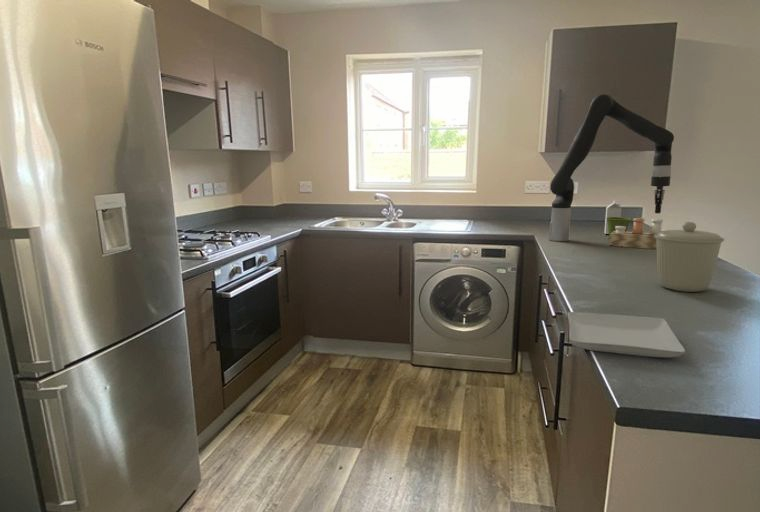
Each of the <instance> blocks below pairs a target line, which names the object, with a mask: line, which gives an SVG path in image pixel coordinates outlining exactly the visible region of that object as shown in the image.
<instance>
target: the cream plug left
mask: <svg viewBox="0 0 760 512" xmlns="http://www.w3.org/2000/svg"><path fill="white" fill-rule="evenodd" d="M615 229H616V233H622V234H625V229H626V227H625V226H615Z"/></svg>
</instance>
